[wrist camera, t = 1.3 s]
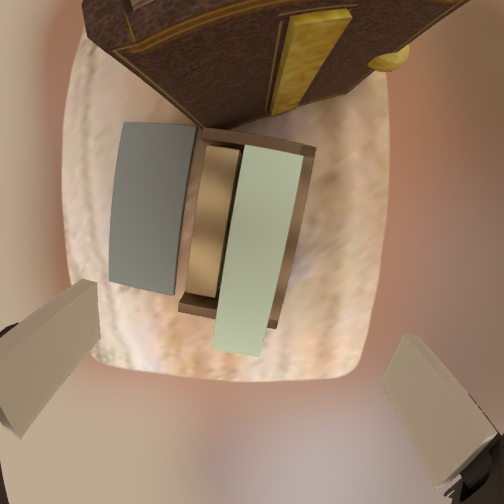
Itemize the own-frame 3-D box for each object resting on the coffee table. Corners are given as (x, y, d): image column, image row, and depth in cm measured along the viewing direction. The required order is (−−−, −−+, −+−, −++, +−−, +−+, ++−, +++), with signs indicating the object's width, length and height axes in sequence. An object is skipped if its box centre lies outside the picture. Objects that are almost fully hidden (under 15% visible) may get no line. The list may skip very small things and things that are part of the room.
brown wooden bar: (213, 150, 32) (205, 145, 26) (242, 154, 32) (239, 150, 27) (194, 279, 36) (184, 296, 31) (219, 284, 36) (214, 302, 31)
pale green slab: (249, 159, 32) (245, 144, 18) (282, 165, 32) (303, 156, 18) (228, 283, 36) (211, 349, 22) (258, 288, 36) (259, 357, 22)
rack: (212, 135, 31) (203, 127, 25) (305, 152, 32) (316, 147, 26) (189, 291, 36) (178, 311, 31) (273, 306, 37) (276, 329, 31)
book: (208, 148, 32) (99, 87, 7) (185, 90, 30) (78, -23, 5) (369, 96, 29) (505, 22, 5) (343, 43, 27) (431, -70, 3)
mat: (126, 122, 31) (123, 122, 30) (197, 127, 31) (196, 126, 30) (111, 279, 36) (108, 281, 35) (174, 293, 37) (173, 296, 36)
